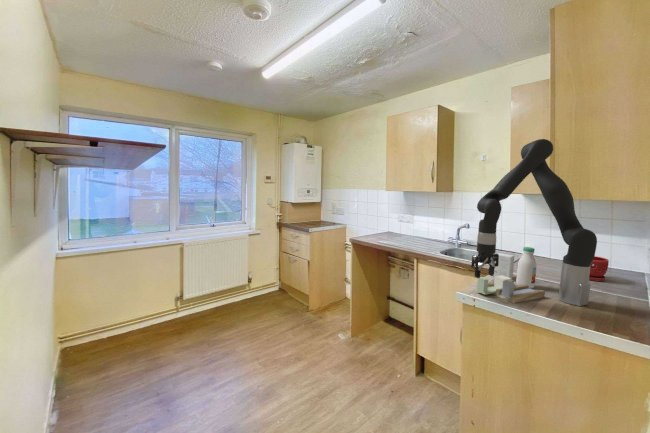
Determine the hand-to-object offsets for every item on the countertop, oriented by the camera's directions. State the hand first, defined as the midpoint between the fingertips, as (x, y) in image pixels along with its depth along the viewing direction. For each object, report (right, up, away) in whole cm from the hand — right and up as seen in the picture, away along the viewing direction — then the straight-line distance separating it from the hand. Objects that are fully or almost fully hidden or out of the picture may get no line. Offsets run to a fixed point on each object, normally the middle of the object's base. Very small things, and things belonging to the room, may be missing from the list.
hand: (484, 276), depth 131 cm
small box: (+25, -6, +26) cm, 37 cm away
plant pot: (+75, -7, +27) cm, 80 cm away
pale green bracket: (+7, -7, +4) cm, 11 cm away
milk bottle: (+28, -8, +14) cm, 33 cm away
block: (+12, -7, +6) cm, 15 cm away
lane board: (+15, -9, +3) cm, 18 cm away
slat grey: (+17, -8, 0) cm, 18 cm away
